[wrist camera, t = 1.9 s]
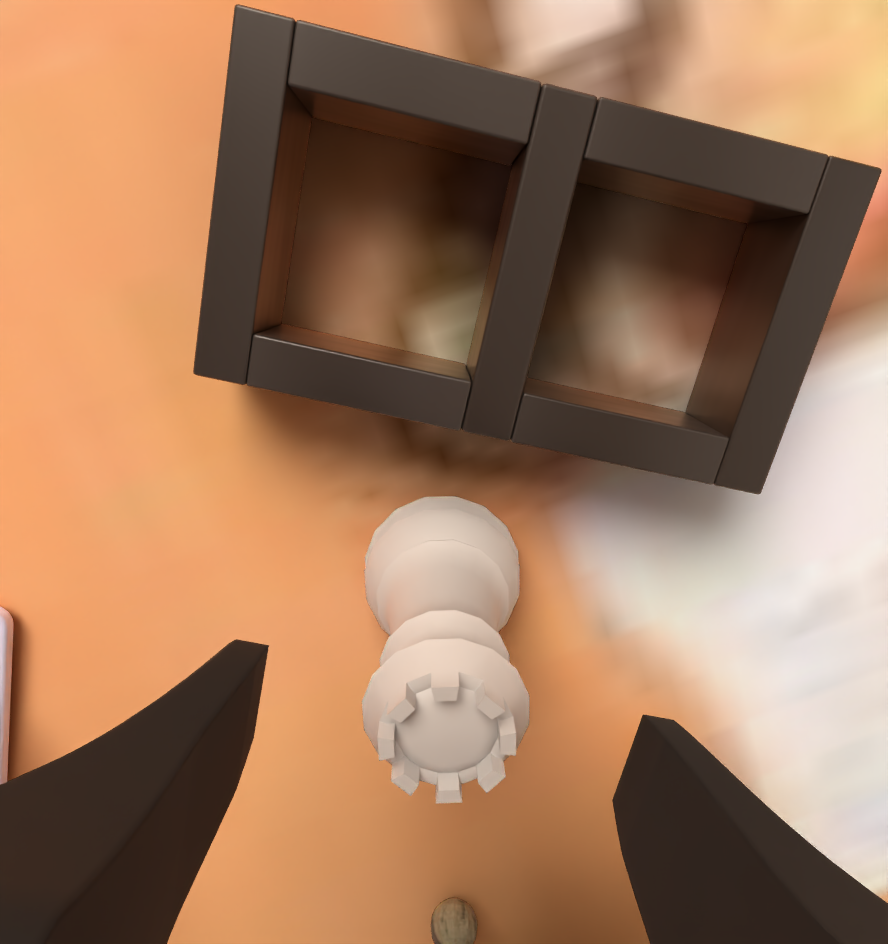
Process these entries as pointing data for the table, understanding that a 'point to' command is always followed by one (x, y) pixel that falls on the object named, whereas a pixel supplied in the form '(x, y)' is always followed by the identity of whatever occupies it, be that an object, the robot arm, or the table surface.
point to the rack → (521, 249)
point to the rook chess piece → (444, 646)
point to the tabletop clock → (453, 923)
